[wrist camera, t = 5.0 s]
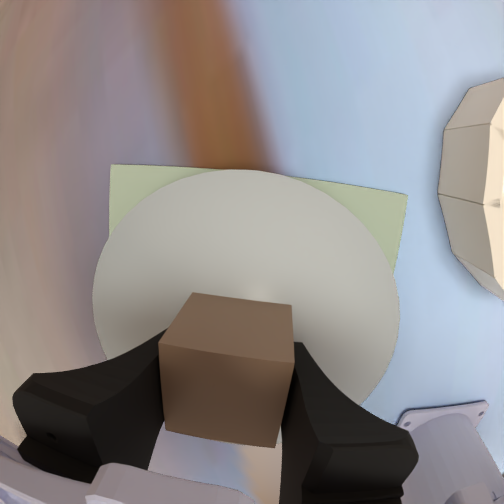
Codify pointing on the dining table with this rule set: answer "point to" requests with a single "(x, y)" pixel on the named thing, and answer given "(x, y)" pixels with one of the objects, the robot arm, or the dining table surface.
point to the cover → (245, 298)
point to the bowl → (476, 184)
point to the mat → (352, 197)
